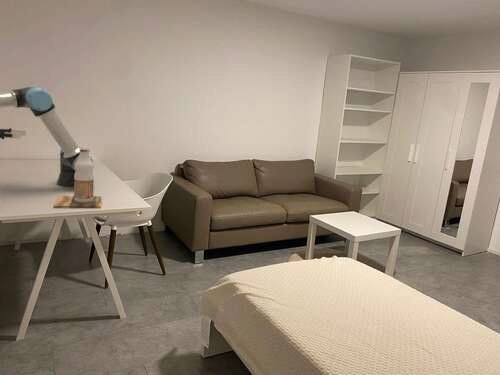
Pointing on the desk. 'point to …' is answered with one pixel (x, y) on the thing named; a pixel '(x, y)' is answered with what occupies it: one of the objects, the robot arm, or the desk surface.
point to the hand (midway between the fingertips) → (23, 134)
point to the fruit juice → (83, 178)
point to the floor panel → (71, 203)
